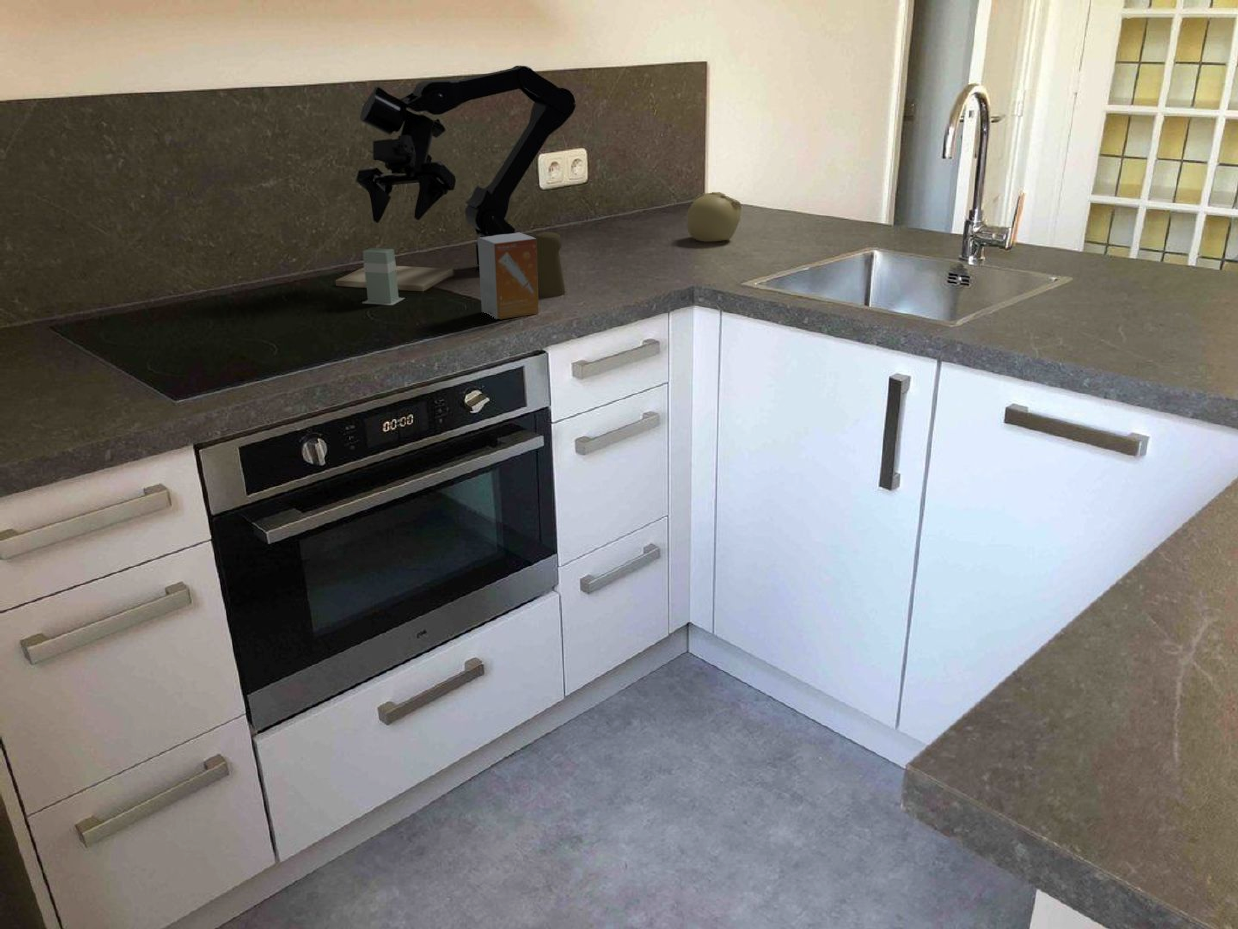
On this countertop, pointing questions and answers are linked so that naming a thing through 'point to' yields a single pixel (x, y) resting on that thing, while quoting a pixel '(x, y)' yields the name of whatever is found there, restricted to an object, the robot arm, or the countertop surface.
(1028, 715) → the countertop surface
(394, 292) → the carton
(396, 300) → the white flat rectangular tile
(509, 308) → the small box
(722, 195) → the green persimmon
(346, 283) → the oak board
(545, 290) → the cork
